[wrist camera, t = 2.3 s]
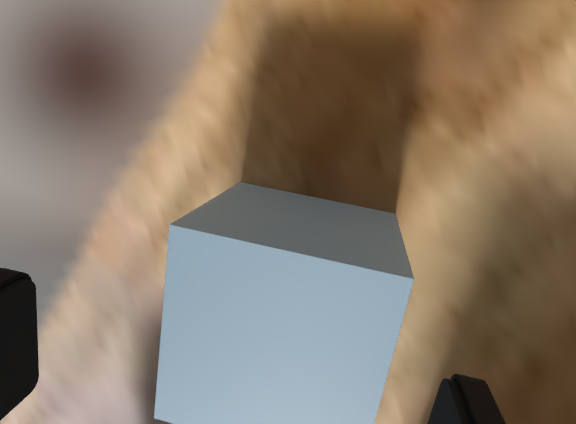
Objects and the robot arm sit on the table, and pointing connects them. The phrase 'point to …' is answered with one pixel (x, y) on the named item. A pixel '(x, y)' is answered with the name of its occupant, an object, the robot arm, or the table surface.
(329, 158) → the table surface
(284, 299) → the blue block
